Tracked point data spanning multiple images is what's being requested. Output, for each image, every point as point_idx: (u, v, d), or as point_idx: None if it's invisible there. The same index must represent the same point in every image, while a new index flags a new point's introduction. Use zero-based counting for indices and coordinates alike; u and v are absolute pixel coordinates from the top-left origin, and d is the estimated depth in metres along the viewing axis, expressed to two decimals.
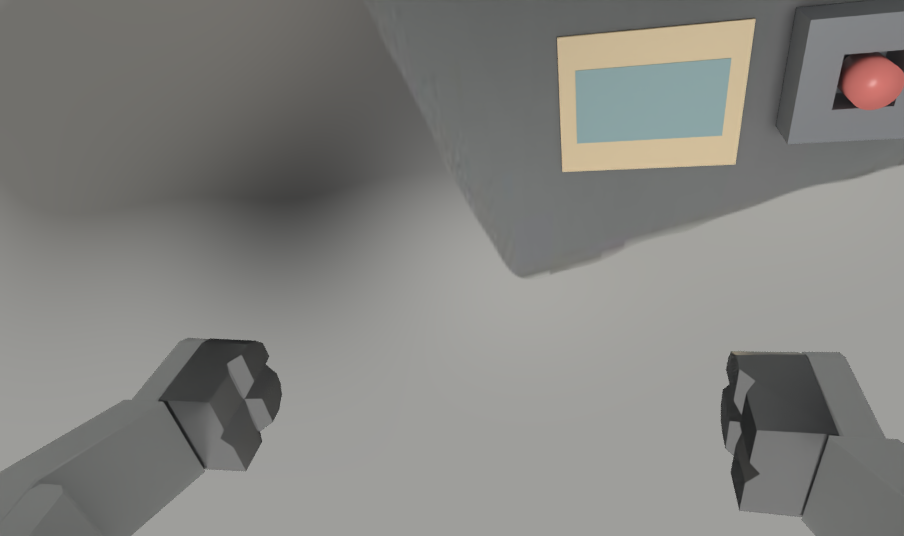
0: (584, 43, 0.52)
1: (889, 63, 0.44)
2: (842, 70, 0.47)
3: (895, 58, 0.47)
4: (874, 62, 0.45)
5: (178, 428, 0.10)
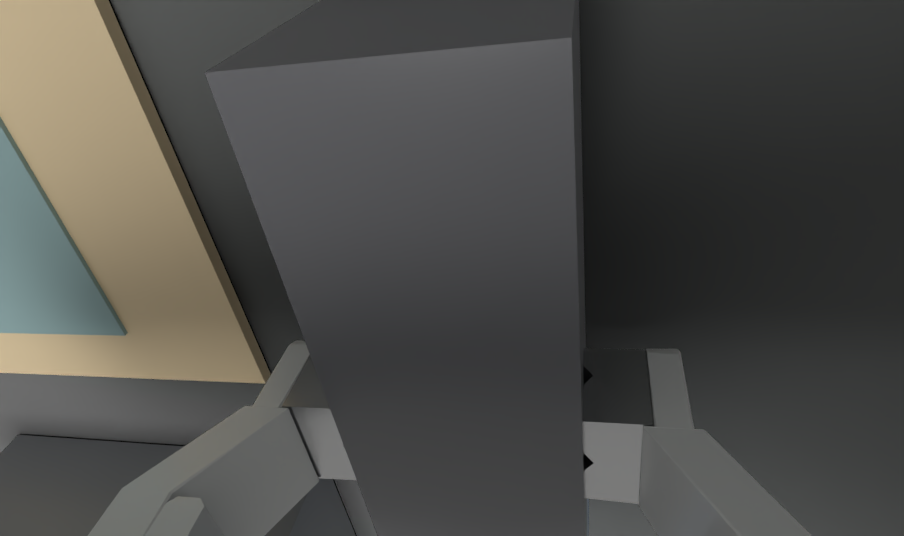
0: None
1: None
2: None
3: None
4: None
5: (299, 436, 0.09)
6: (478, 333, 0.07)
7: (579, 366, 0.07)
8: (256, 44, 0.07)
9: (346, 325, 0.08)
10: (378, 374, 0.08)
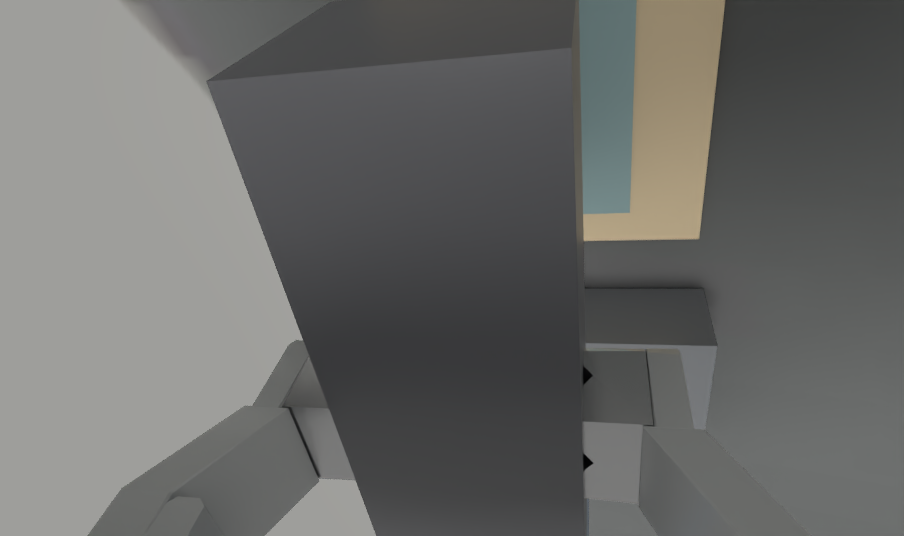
0: None
1: None
2: None
3: None
4: None
5: (299, 436, 0.09)
6: (477, 339, 0.07)
7: (579, 372, 0.07)
8: (257, 52, 0.07)
9: (347, 331, 0.08)
10: (380, 379, 0.08)
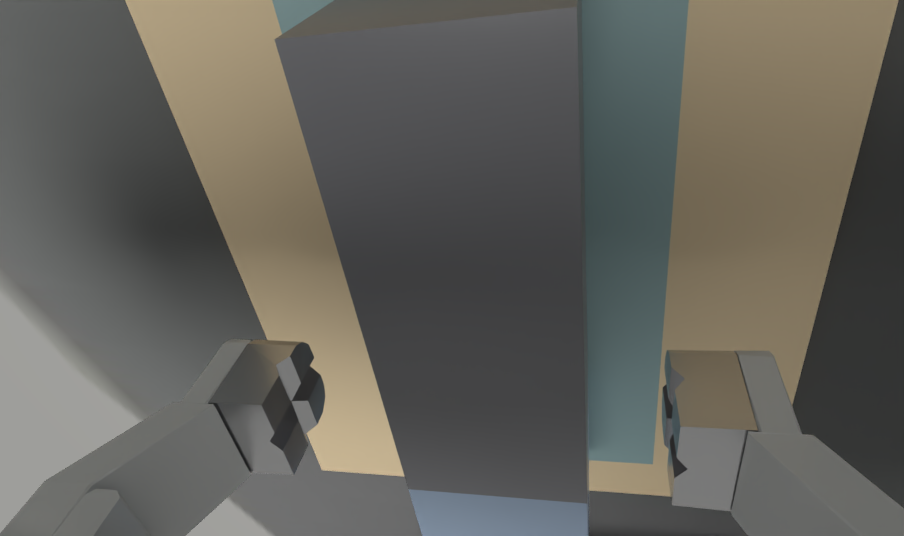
0: None
1: None
2: None
3: None
4: None
5: (227, 431, 0.10)
6: (496, 266, 0.09)
7: (582, 294, 0.09)
8: (311, 18, 0.08)
9: (382, 262, 0.09)
10: (408, 307, 0.09)
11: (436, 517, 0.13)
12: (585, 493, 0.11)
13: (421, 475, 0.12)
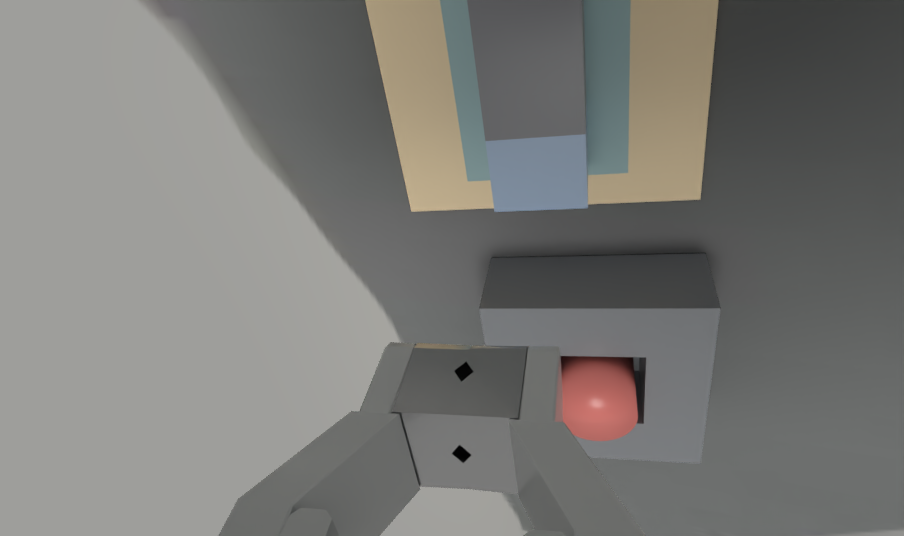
0: None
1: None
2: None
3: None
4: (636, 403, 0.27)
5: (407, 442, 0.09)
6: None
7: None
8: None
9: None
10: None
11: (500, 163, 0.22)
12: (584, 125, 0.21)
13: (493, 127, 0.22)
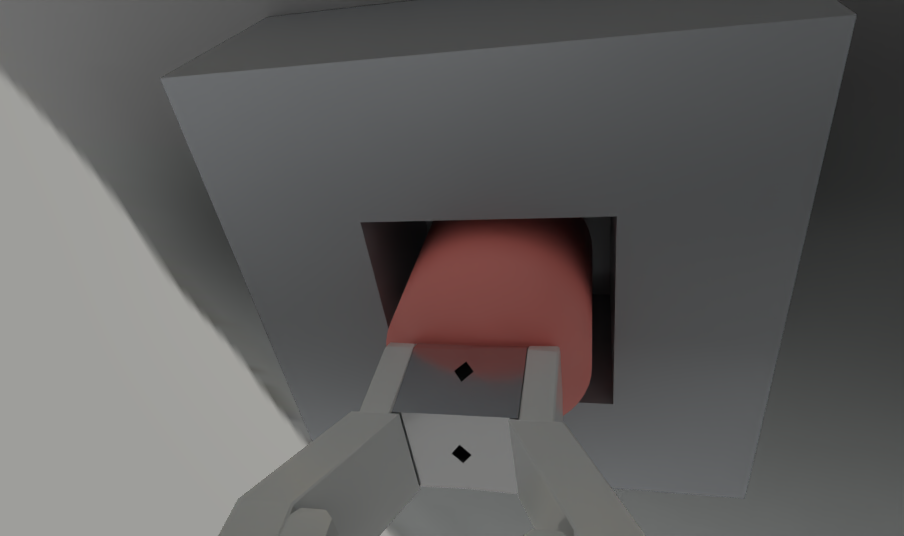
0: None
1: (587, 381, 0.10)
2: None
3: None
4: (588, 331, 0.10)
5: (407, 442, 0.09)
6: None
7: None
8: None
9: None
10: None
11: None
12: None
13: None
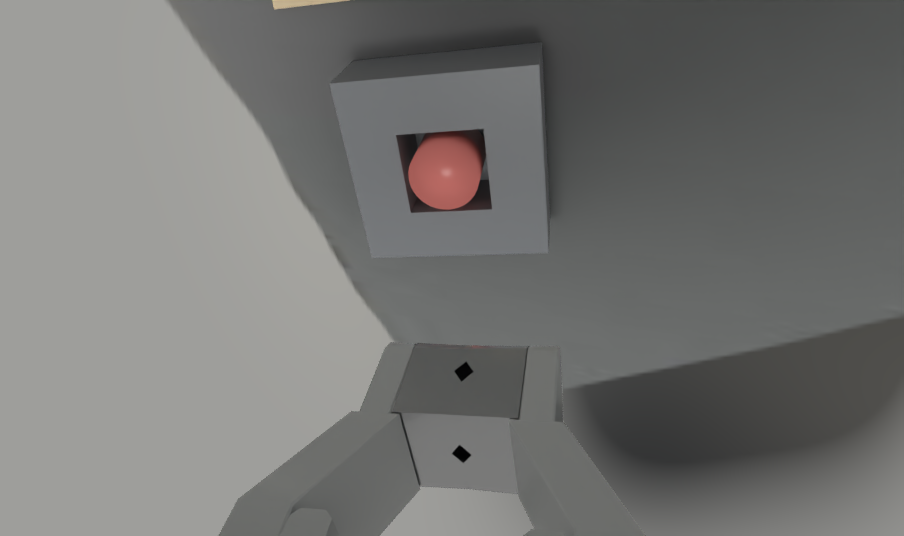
0: None
1: (478, 183, 0.30)
2: None
3: None
4: (477, 164, 0.30)
5: (407, 442, 0.09)
6: None
7: None
8: None
9: None
10: None
11: None
12: None
13: None
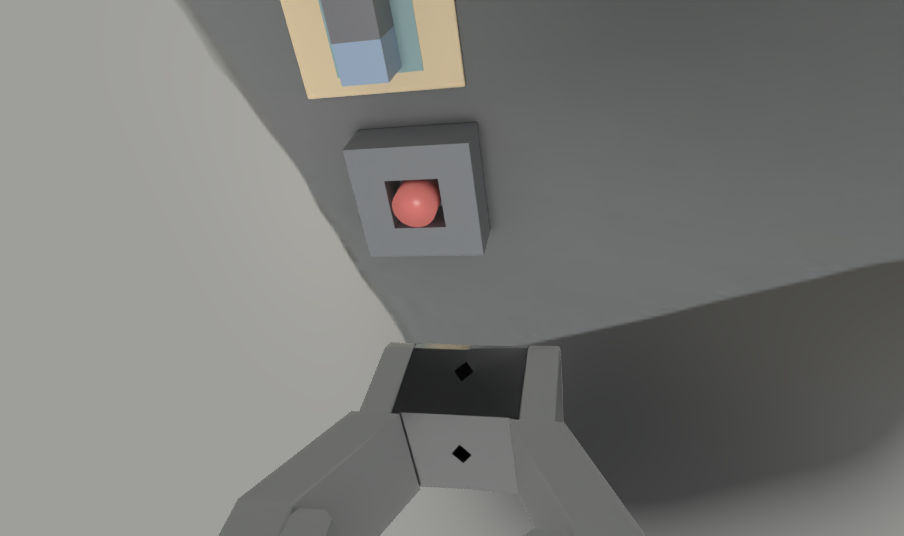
0: None
1: (435, 211, 0.47)
2: None
3: (436, 215, 0.50)
4: (435, 200, 0.47)
5: (407, 442, 0.09)
6: None
7: None
8: None
9: None
10: None
11: (340, 57, 0.42)
12: (378, 34, 0.41)
13: (334, 36, 0.41)
